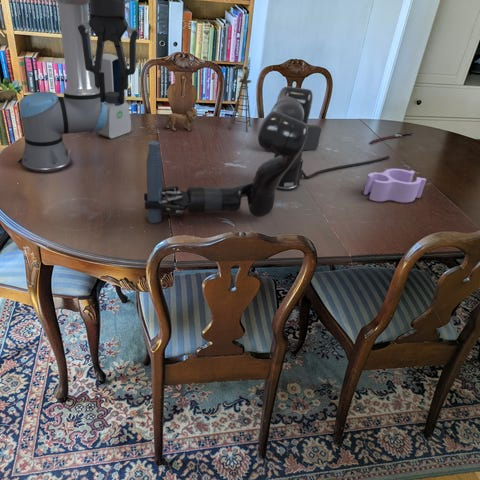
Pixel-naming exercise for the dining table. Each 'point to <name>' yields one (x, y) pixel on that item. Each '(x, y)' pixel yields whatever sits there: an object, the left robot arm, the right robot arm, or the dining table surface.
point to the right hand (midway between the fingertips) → (144, 201)
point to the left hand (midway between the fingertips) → (112, 101)
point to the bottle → (154, 180)
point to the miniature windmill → (244, 81)
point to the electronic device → (118, 112)
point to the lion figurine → (182, 118)
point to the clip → (394, 186)
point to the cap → (112, 97)
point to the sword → (388, 137)
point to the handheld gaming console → (312, 137)
